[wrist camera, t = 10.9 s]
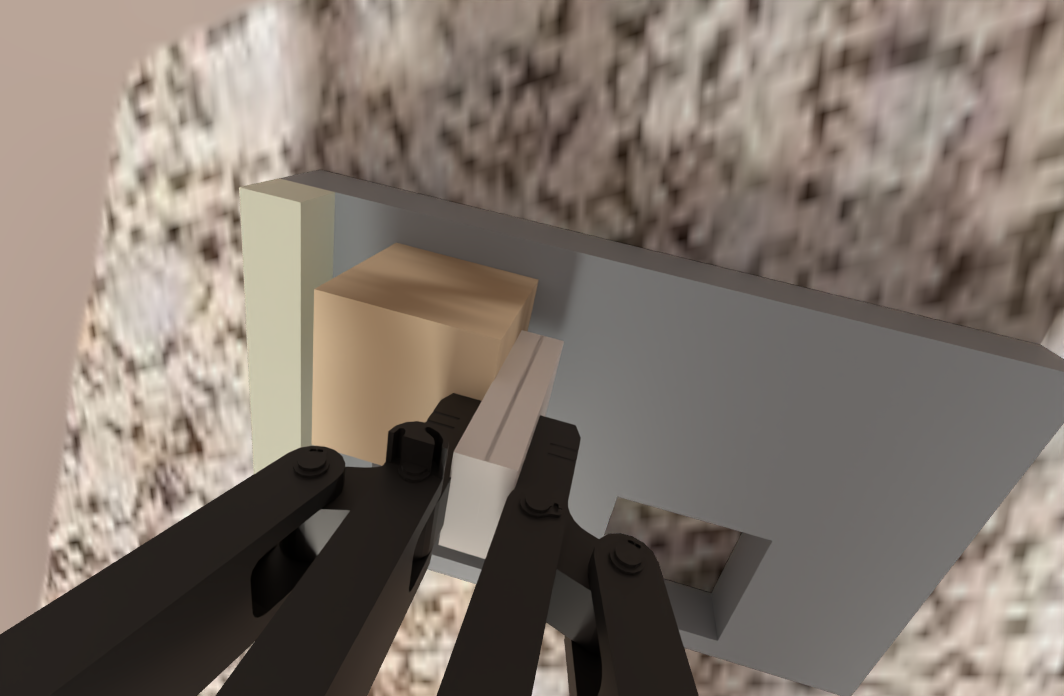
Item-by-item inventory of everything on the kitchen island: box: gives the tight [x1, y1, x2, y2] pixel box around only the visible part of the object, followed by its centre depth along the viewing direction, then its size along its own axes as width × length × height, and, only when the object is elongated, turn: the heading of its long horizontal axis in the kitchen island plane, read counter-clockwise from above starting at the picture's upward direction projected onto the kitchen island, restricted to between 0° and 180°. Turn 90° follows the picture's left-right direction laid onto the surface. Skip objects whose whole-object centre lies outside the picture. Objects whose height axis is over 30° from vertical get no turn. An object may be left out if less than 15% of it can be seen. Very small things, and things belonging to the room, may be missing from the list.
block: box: [312, 243, 539, 466], centre depth 17 cm, size 5×5×5 cm
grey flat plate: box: [239, 170, 1064, 696], centre depth 21 cm, size 26×16×4 cm, turn 79°
